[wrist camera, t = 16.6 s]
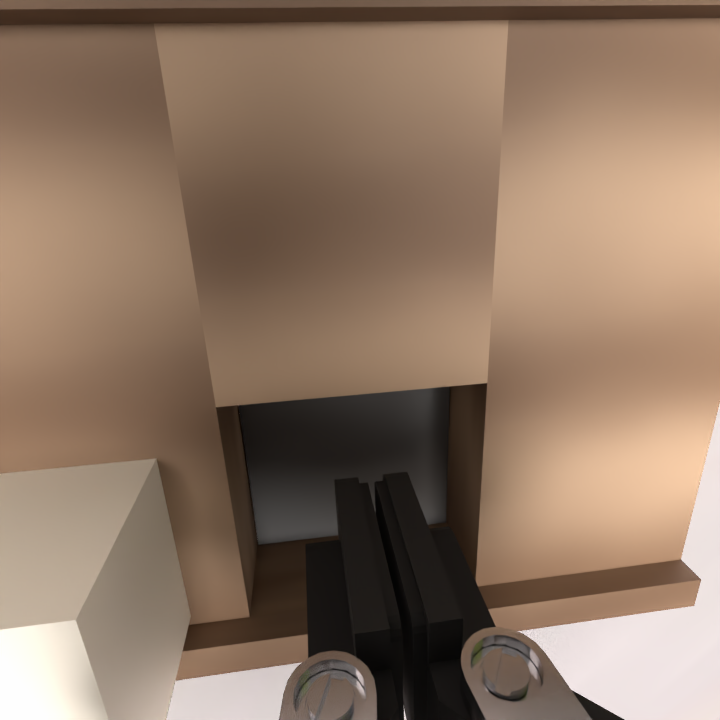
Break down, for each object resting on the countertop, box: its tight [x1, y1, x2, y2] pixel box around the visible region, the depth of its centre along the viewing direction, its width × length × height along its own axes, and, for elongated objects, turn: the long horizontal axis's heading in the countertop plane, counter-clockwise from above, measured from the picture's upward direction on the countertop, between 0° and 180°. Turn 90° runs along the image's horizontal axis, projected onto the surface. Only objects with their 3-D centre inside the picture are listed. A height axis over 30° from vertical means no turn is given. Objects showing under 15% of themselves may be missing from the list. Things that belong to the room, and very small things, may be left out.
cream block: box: [0, 459, 191, 720], centre depth 10 cm, size 5×5×4 cm
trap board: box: [0, 0, 720, 680], centre depth 11 cm, size 16×35×5 cm, turn 93°
